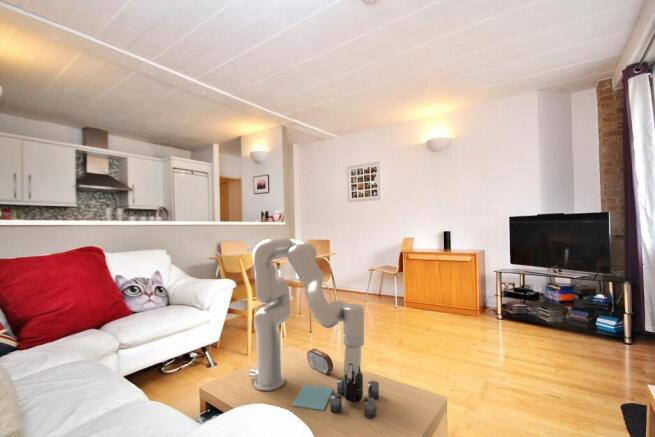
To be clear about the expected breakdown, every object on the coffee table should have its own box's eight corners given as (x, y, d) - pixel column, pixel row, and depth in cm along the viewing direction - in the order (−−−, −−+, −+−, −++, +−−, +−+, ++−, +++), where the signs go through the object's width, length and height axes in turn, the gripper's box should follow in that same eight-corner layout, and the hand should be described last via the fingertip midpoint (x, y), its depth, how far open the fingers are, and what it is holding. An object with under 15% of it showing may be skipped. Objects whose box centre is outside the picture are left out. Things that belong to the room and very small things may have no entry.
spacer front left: (329, 412, 106) (328, 398, 106) (331, 406, 110) (331, 392, 110) (340, 414, 105) (340, 400, 105) (342, 407, 109) (342, 393, 109)
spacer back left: (336, 395, 117) (335, 382, 117) (338, 389, 121) (338, 376, 121) (346, 396, 116) (346, 383, 116) (348, 390, 120) (348, 377, 120)
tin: (333, 375, 132) (333, 355, 132) (328, 377, 130) (328, 358, 130) (311, 363, 143) (310, 345, 143) (306, 365, 141) (305, 347, 141)
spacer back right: (367, 399, 114) (367, 385, 114) (368, 393, 118) (368, 380, 118) (378, 400, 113) (378, 387, 113) (379, 394, 117) (379, 381, 117)
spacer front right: (363, 418, 103) (363, 403, 103) (365, 410, 107) (364, 396, 107) (375, 419, 102) (375, 404, 102) (376, 412, 106) (376, 398, 106)
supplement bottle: (362, 404, 108) (362, 370, 108) (342, 402, 109) (342, 368, 109) (363, 393, 115) (363, 361, 115) (345, 391, 116) (345, 359, 116)
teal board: (291, 406, 111) (291, 405, 111) (304, 385, 124) (304, 384, 124) (323, 411, 107) (323, 409, 107) (333, 389, 121) (333, 388, 121)
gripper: (347, 329, 121) (347, 374, 121) (338, 348, 104) (338, 400, 105) (366, 331, 119) (366, 377, 119) (360, 350, 102) (360, 403, 103)
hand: (353, 387), depth 112 cm, fingers closed on supplement bottle, 6 cm apart
